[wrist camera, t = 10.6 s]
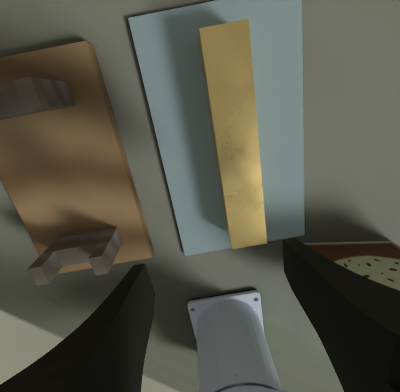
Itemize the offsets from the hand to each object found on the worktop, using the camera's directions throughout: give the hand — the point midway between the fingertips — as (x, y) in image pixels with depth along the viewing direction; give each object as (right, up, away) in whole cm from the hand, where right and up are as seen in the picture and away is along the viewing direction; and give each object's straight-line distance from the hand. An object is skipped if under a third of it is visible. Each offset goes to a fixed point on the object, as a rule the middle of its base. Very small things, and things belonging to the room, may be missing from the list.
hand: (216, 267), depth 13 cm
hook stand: (-12, +6, +8) cm, 16 cm away
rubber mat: (+2, +8, +8) cm, 12 cm away
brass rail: (+2, +7, +6) cm, 10 cm away
